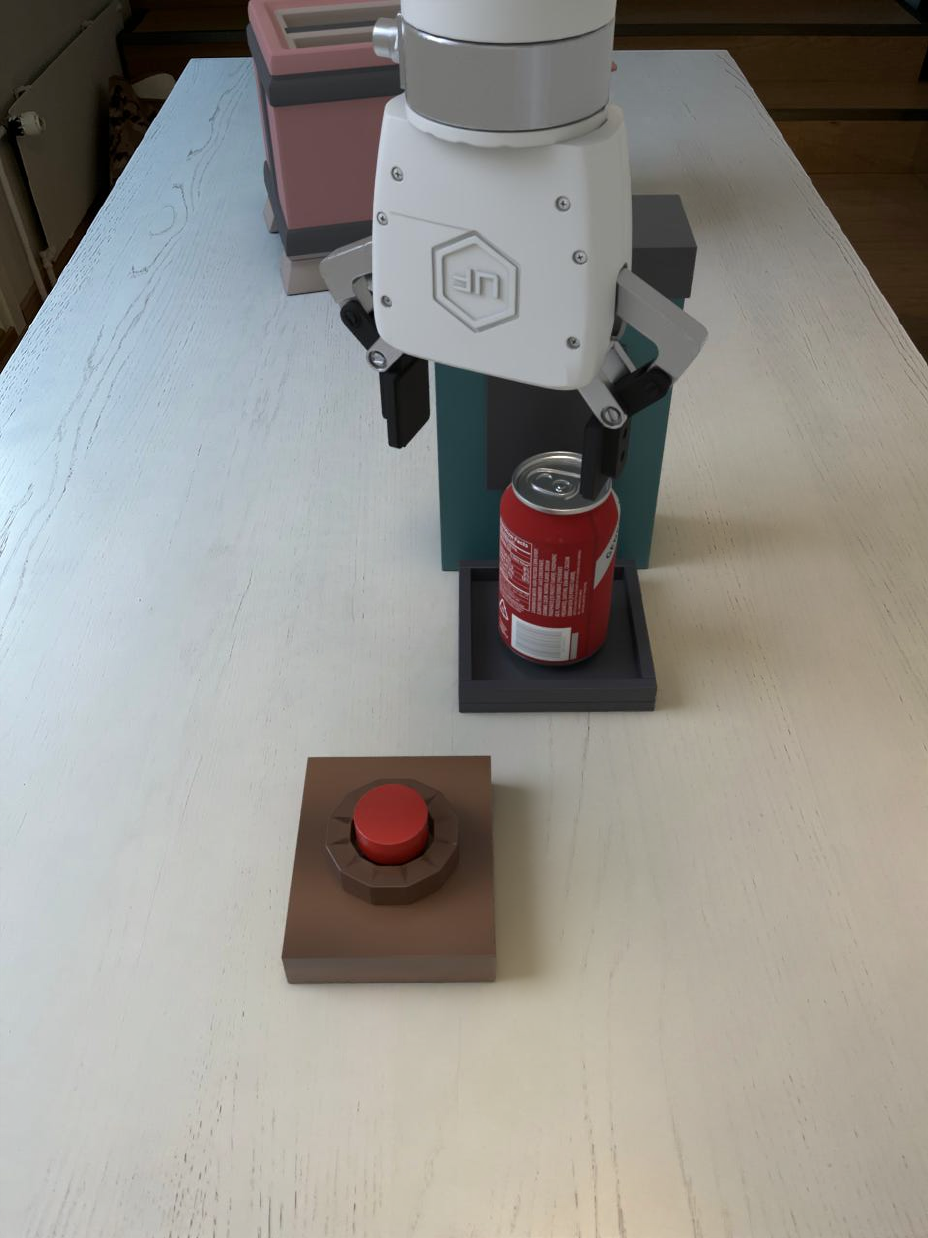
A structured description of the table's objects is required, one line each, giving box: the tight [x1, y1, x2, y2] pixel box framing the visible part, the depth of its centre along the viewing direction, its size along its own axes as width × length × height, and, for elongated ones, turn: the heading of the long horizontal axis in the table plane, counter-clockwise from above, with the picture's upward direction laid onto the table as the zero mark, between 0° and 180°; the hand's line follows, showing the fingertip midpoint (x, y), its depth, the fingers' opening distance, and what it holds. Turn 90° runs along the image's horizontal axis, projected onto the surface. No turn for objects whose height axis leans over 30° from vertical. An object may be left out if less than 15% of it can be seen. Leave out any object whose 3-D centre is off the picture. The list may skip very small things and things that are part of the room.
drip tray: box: [457, 559, 658, 713], centre depth 68 cm, size 12×12×2 cm
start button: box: [354, 784, 429, 865], centre depth 54 cm, size 4×4×2 cm
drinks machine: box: [434, 194, 698, 571], centre depth 68 cm, size 7×14×23 cm, turn 90°
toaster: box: [245, 0, 618, 296], centre depth 105 cm, size 19×34×21 cm, turn 104°
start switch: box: [280, 755, 496, 984], centre depth 55 cm, size 12×10×4 cm
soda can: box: [499, 451, 620, 666], centre depth 64 cm, size 7×7×12 cm
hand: (501, 457), depth 51 cm, fingers open, 9 cm apart
